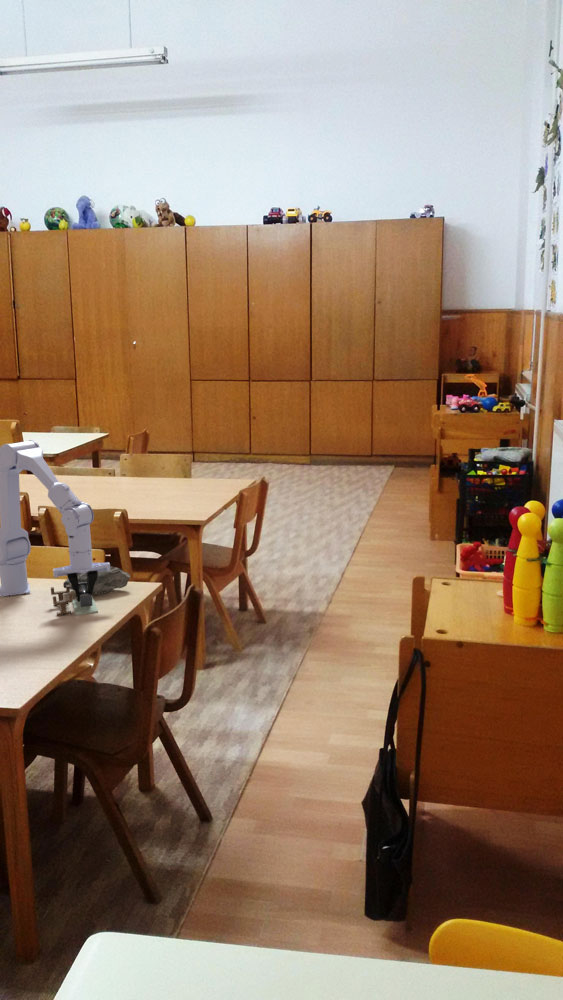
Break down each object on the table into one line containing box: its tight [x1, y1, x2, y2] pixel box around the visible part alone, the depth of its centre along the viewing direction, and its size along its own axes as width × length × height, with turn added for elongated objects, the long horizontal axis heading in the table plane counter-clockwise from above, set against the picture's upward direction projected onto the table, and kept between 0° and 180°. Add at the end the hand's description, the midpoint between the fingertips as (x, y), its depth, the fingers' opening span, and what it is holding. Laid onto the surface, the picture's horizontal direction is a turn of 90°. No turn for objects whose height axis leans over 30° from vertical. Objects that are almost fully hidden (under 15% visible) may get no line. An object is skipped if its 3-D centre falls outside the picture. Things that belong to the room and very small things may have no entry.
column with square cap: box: [78, 582, 93, 607], centre depth 213 cm, size 12×3×3 cm, turn 19°
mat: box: [72, 596, 99, 616], centre depth 214 cm, size 12×6×1 cm, turn 19°
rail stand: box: [50, 585, 74, 617], centre depth 212 cm, size 10×5×5 cm, turn 19°
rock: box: [62, 566, 131, 595], centre depth 227 cm, size 18×10×10 cm
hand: (84, 599), depth 214 cm, fingers closed on column with square cap, 2 cm apart
